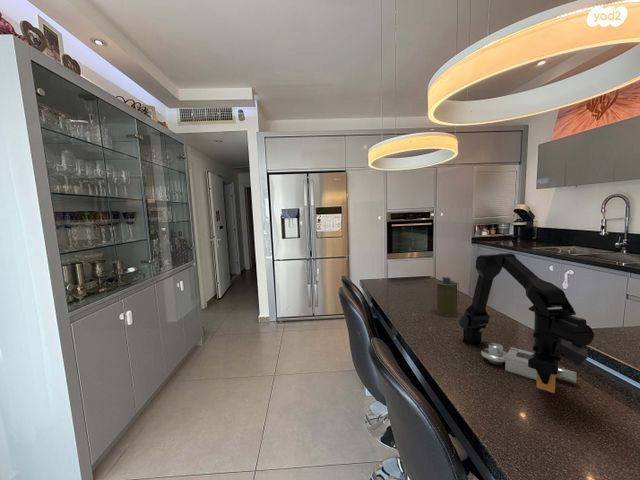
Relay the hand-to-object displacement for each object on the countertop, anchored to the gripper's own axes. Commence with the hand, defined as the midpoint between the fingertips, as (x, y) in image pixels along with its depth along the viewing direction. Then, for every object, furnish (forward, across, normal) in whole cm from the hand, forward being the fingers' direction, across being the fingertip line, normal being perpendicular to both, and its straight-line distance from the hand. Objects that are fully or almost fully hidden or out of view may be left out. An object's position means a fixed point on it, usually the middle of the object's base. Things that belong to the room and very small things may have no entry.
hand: (545, 381), depth 79 cm
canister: (+4, +50, +46) cm, 68 cm away
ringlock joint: (+4, +11, +6) cm, 13 cm away
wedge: (+2, 0, 0) cm, 2 cm away
